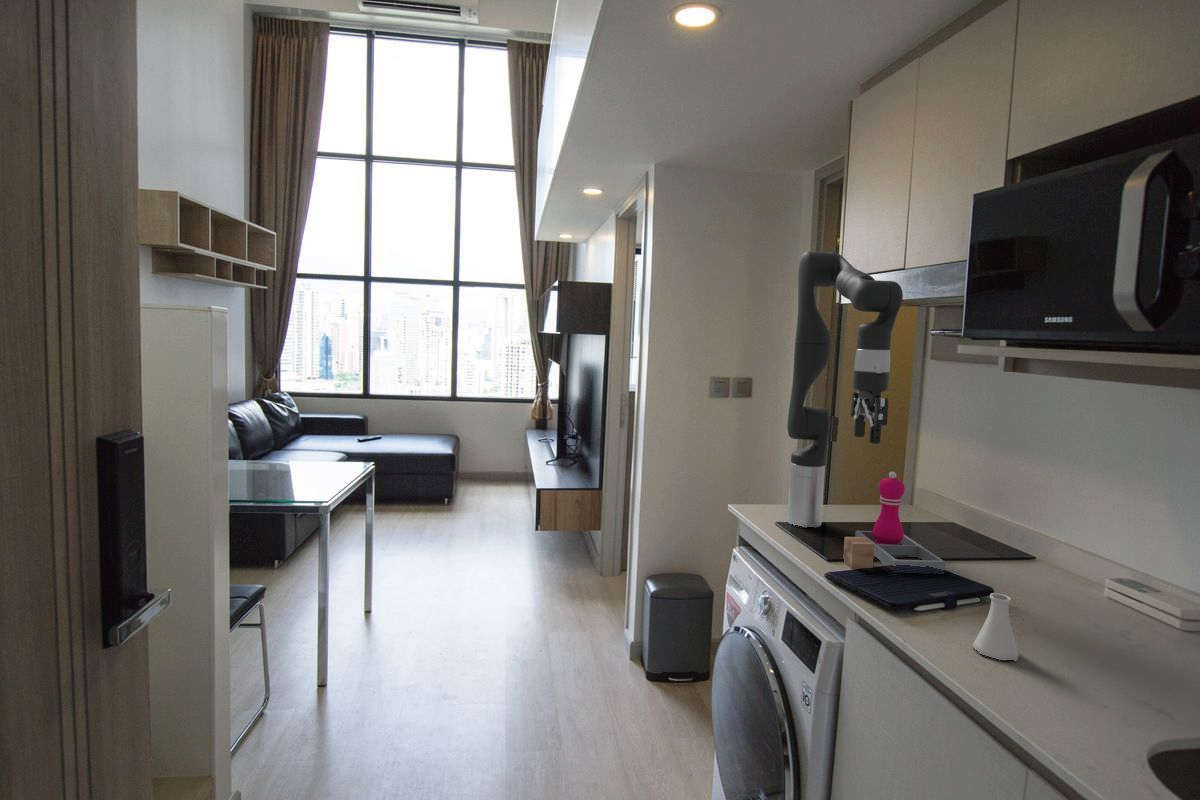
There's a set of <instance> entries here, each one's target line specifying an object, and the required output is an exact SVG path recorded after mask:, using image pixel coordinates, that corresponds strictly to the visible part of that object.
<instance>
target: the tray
mask: <svg viewBox="0 0 1200 800" xmlns="http://www.w3.org/2000/svg"><path fill="white" fill-rule="evenodd" d="M854 537H866V538H867V539H869V540H870V541H871V542H872V543H874V541H875V540H876V538H875V537H874V535H873V530H855V535H854ZM899 543H900V544H902V545H887V544H875V543H874V544H875V545H874V556H875V557H877V558H878V559H879V560H880V561H881V563H882V564H881V563H880V564H881V565H883V564H884V565H893V566H896V565H910V566H920V567H926V566H929V567H933V568H937V569H941V570H945V571H946V561H945V560H943V559H942V558H941V557H939V556H937V555H936V554H935V553H933V552H931V551H930V550H928V549H927V548H926V547H924V546H922V545H921V544H920V543H918V542H916V541H915V540H913V539H912V538H910V537H909V536H907V535H906V534H904V537H903V539H902V540H901V541H900V542H899ZM891 555H916V556H919V557H920V558H921V559H922V560H920V559H898V558H894V557H893V556H891ZM884 565H883V566H884Z"/></svg>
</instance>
